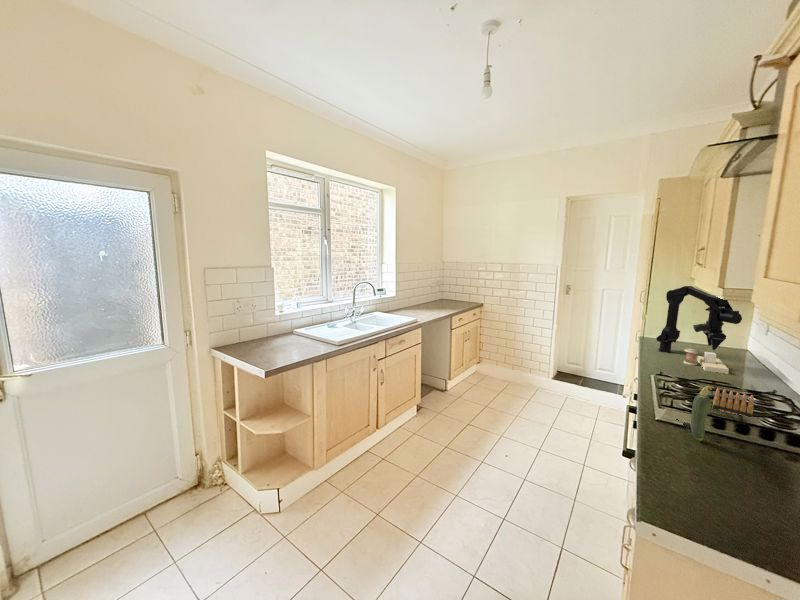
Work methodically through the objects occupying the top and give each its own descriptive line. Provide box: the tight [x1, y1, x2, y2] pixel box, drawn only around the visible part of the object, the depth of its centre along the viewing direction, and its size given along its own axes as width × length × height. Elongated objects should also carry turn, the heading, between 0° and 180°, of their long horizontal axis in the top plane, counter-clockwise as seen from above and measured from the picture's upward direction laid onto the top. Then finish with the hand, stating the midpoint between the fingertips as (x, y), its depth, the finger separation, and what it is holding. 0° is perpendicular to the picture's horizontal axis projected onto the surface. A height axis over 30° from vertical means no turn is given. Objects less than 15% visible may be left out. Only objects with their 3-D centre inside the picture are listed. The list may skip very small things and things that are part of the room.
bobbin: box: [682, 348, 700, 366], centre depth 181 cm, size 6×6×8 cm
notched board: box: [696, 355, 730, 375], centre depth 176 cm, size 20×9×3 cm, turn 146°
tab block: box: [703, 351, 717, 364], centre depth 177 cm, size 4×4×7 cm
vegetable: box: [690, 385, 713, 442], centre depth 108 cm, size 4×4×20 cm
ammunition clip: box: [711, 387, 755, 418], centre depth 120 cm, size 11×2×12 cm, turn 44°
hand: (711, 347), depth 175 cm, fingers open, 9 cm apart
